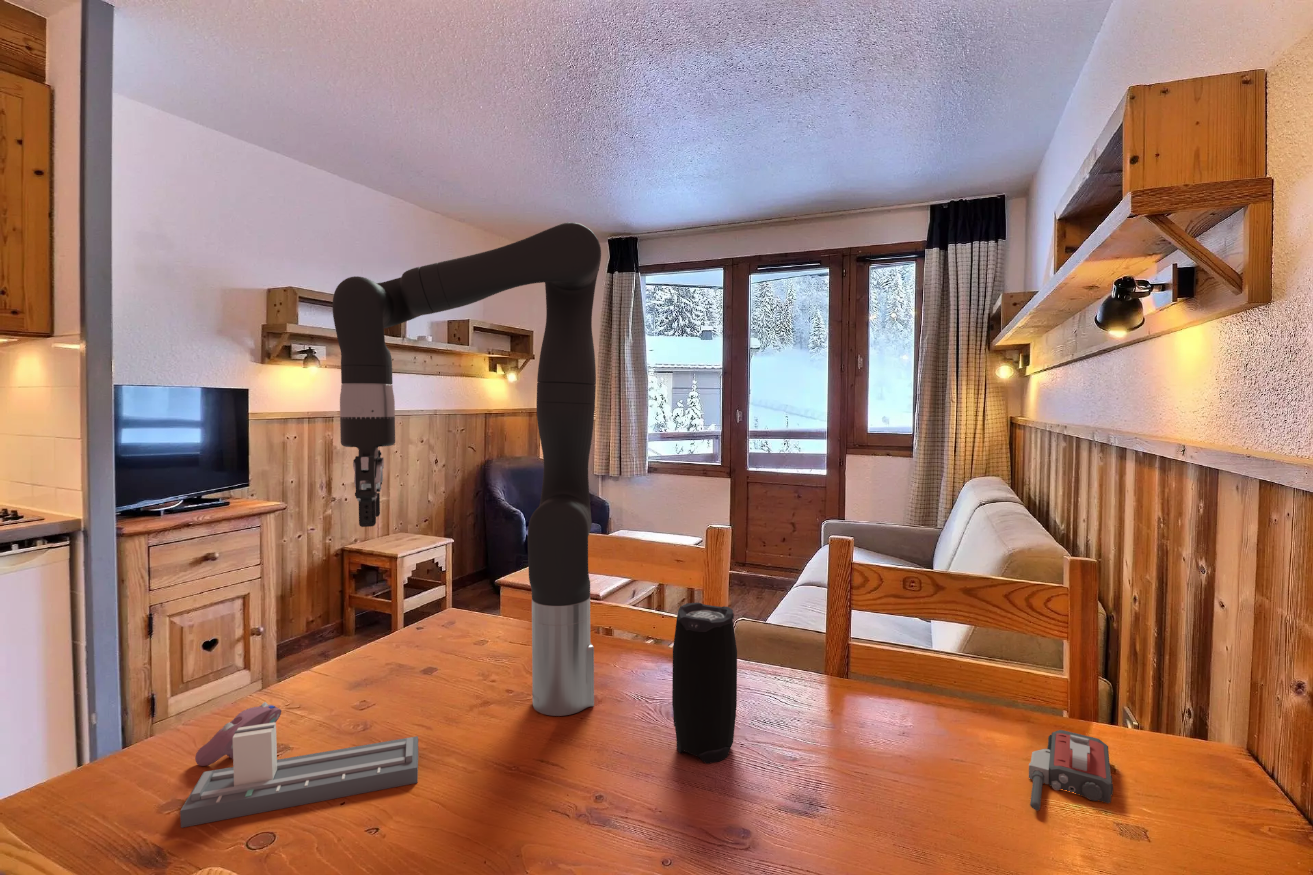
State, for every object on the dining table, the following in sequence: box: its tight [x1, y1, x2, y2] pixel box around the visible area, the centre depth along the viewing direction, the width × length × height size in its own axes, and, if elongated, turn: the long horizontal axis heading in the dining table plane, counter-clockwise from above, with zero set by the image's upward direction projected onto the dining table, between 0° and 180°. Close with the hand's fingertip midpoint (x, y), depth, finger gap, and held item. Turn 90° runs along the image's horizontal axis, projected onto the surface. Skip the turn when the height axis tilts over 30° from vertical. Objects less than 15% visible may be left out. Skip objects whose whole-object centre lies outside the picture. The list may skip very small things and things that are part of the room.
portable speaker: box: [671, 602, 738, 764], centre depth 87 cm, size 9×9×20 cm
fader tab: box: [232, 722, 278, 787], centre depth 77 cm, size 4×2×6 cm, turn 110°
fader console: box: [179, 735, 419, 828], centre depth 79 cm, size 25×8×3 cm, turn 110°
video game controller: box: [195, 701, 282, 767], centre depth 87 cm, size 10×5×7 cm, turn 168°
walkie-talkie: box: [1028, 729, 1114, 811], centre depth 80 cm, size 9×4×20 cm
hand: (370, 521), depth 96 cm, fingers open, 8 cm apart
